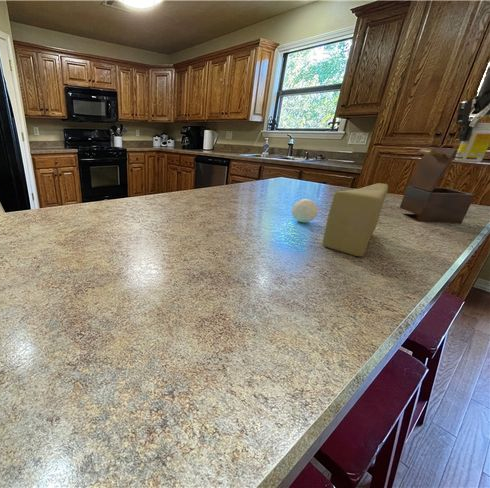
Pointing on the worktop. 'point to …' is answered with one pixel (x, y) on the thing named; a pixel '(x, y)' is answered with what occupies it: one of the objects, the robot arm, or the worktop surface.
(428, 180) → the lid
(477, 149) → the supplement bottle
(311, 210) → the ball
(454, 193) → the chest
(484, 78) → the robot arm
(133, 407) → the worktop surface
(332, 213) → the cheese
